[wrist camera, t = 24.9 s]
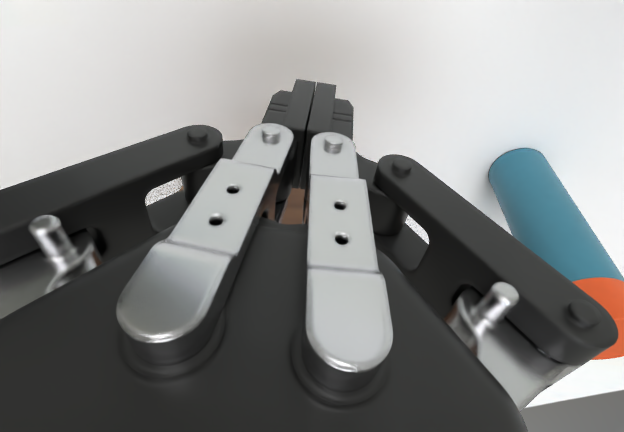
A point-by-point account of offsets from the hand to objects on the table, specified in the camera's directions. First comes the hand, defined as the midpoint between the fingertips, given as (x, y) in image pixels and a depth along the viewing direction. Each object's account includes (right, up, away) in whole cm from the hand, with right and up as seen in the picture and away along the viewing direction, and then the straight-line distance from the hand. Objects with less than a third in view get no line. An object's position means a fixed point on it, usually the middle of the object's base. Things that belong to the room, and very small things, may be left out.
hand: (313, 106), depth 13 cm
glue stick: (+14, -1, +10) cm, 17 cm away
